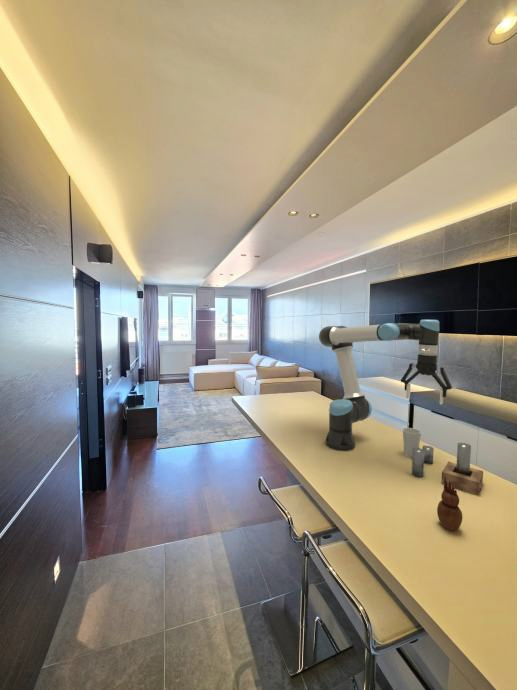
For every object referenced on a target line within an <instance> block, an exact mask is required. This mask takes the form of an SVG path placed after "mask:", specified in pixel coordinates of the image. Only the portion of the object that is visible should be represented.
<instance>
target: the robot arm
mask: <svg viewBox="0 0 517 690" xmlns="http://www.w3.org/2000/svg"><path fill="white" fill-rule="evenodd" d="M440 330H441V329H440V321H439V320H438V319H421V320H420V321H419V323H406V322H405V323H404V322H398V323H391V322H386V323H382V324H372V325H364V326H363V325H362V326H361V325H360V326H353V327H351V326H345V325H337V326H336V325H331V326H329V325H328V326H324V327H323V328H322V329H320V331H319V334H318V339H319V341H320V344H321V345H323V346H325V347H328V348H329V347H330V348H331V350H332V352H333V353H335V356H336V360H337V361H336V362H337V365H338V368H339V369H338V370H339V374H340V378H341V383H342V388H343V391H344V396H343V397H342V398H341V399H335V400H333V401H331V402H330V403H329V408H328V412H329V414H328V419H329V423H328V425H329V426H328V432H327V434H326V438H325V446H326V447H328V448H329V449H332V450H336V451H340V452H341V451H343V452H347V451H351V450H354V449H355V448H356V440H355V438H354V435H353V424H355V423H357V422H361V421H364V420H367V419H368V418H369V417H370V416H371V414H372V411H373V410H372V409H373V408H372V404H371V402H370V401H369V400H368V399H367V398H366V397H365V394H364V393H362V392H361V388H360V384H359V383H360V382H359V379H358V375H357V371H356V366H355V362H354V358H353V353H352V349H353V348H354V345H353V344H354V343H361V342H362V343H363V342H365V343H366V342H382V341H383V342H385V341H386V342H388V341H389V342H391V341H405V340H406V341H407V340H409V341H418V346H417V347H418V349H417V353H418V354H417V361H416V363H413V362H411V363H409V364H408V368H407V369H406V372H405V373H404V375H403V376H402V377H401V379H400V382H401V383H403V384H404V392H405V391H406V392H405V393H406V396H405V399H409V398H411V396H410V395H411V386H412V385H411V383H410V382H412V381H413V380H414V379H415V378H416V377H417V376H418V375H423V376H431V377H432V378H434V380H435V381H436V383H437V384H438V386H440V394H439V405H441V406H442V405H443V404H444V398H446V397H447V391H448V390H451V389H453V386H452V384H451V381H450V380H449V377H448V375H447V373H446V367H445V366H437V363H438V361H437V360H438V356H437V354H438V352H439V351H438V350H439V338H440ZM415 368H416V369H417V370H416V371H415V372H414V373H413V374H412V375H411V376H410V374H411V372H412V370H413V369H415ZM436 371H438V372H439V373H440V375H441V378H442V379H443V381H442V379H441V378H440V377H439V374H438V373H437V372H436ZM409 376H410V377H409ZM408 377H409V378H408Z"/></svg>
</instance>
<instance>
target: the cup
mask: <svg viewBox="0 0 517 690" xmlns="http://www.w3.org/2000/svg"><path fill="white" fill-rule="evenodd" d="M421 435H422V431H421V430H419V429H417V428H412V427H404V428H403V429H402V438H403V439H402V441H403V454H404V456H406V457H409V458H412V454H413V448H420V442H421Z"/></svg>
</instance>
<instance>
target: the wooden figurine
mask: <svg viewBox="0 0 517 690" xmlns="http://www.w3.org/2000/svg"><path fill="white" fill-rule="evenodd" d="M440 495H441V499H440V501H439V502H438V504H437V508H436V512H437V518H438V520H439V522H440V524H441V525H442V527H444V528H445V529H447V530H449V531H456V530H459V529H460V527H461V525H462V522H463V513H462V510H461V508H460V507H459V504H460V497H459V495H458V492H457V489H455V488H454V486H452V487H451V482H449V485H447V481H446V478H444V484H443V491H442V492H441V494H440Z"/></svg>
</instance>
